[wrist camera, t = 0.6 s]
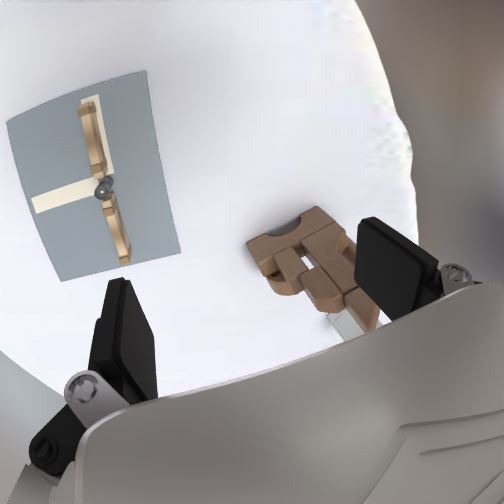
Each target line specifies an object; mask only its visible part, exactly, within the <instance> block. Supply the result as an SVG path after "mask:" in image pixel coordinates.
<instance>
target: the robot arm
mask: <svg viewBox="0 0 504 504" xmlns="http://www.w3.org/2000/svg"><path fill="white" fill-rule="evenodd" d="M438 262H439V261H438V260H437V259H436V258H434V257H433V256H432V255H430V254H429V253H427V252H426V251H425V250H423V249H422V248H420V247H419V246H418V245H416V244H415V243H413V242H412V241H410V240H409V239H408V238H406V237H405V236H403V235H402V234H400V233H399V232H397V231H396V230H394V229H393V228H391V227H390V226H388V225H387V224H385V223H384V222H382V221H381V220H379V219H378V218H376V217H369V218H365V219H362V220H361V222H360V223H359V224H358V231H357V245H356V257H355V268H354V280H355V282H356V284H357V285H358V286H359V287H360V288H361V289H362V290H363V291H364V292H365V293H366V294H367V295H368V296H369V297H370V298H371V299H372V300H373V301H374V302H375V304H376V305H377V306H378V307H379V308H380V309H381V310H382V311H383V312H384V313H385V314H386V315H387V316H388V317H389V319H390V320H391V321H392V322H390V323H388V324H386V325H383V326H381V327H379V328H377V329H374V330H372V331H370V332H367V333H365V334H363V335H360V336H358V337H355V338H353V339H350V340H348V341H345V342H343V343H340V344H338V345H335V346H333V347H330V348H327V349H325V350H322V351H319V352H317V353H314V354H311V355H308V356H305V357H303V358H300V359H297V360H294V361H291V362H288V363H285V364H282V365H279V366H276V367H273V368H270V369H266V370H263V371H260V372H257V373H253V374H250V375H246V376H243V377H239V378H236V379H232V380H228V381H225V382H221V383H217V384H213V385H209V386H206V387H202V388H198V389H194V390H190V391H185V392H181V393H177V394H172V395H168V396H164V397H160V398H158V392H157V379H156V365H155V346H154V336H153V332H152V330H151V328H150V326H149V323H148V321H147V319H146V317H145V315H144V312H143V310H142V308H141V306H140V303H139V301H138V298H137V296H136V294H135V291H134V289H133V286H132V284H131V282H130V280H125V279H124V278H123V277H121V278H117V279H113V280H109V282H108V286H107V290H106V295H105V299H104V304H103V309H102V314H101V318H98V319H97V321H96V324H95V329H94V334H93V340H92V345H91V351H90V358H89V364H88V370H86V371H81V372H78V373H77V374H75V375H74V376H72V377H71V378H70V379H69V381H68V382H67V384H66V386H65V389H64V398H65V400H66V402H67V404H66V405H65V406H64V407H63V408H62V410H60V411H59V412H58V413H57V414H56V415H55V416H54V417H53V418H52V419H51V420H50V422H48V423H47V424H46V425H45V426H44V427H43V428H42V429H41V430H40V431H39V432H38V433H37V434H36V436H35V437H34V438H33V439H32V441H31V443H30V446H29V456H30V460H31V463H30V465H27V464H25V466H24V468H23V470H22V472H21V474H20V477H19V478H18V480H17V482H16V485H15V487H14V489H13V491H12V493H11V495H10V497H9V500H8V503H7V504H504V287H503V286H501V285H498V284H493V283H481V282H475V281H473V278H472V275H471V274H470V272H469V271H468V270H467V269H466V268H465V267H463V266H461V265H459V264H455V263H447V264H444V265H442V267H441V268H440V270H438V269H437V266H438Z"/></svg>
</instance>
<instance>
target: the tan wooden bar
mask: <svg viewBox="0 0 504 504" xmlns="http://www.w3.org/2000/svg"><path fill="white" fill-rule="evenodd" d="M102 205H103V210H102V212H103V216H104V218H105V217H106V218H107V221H108V224H109V227H110V230H111V233H112V236H113V239H114V242H115V245H116V247H117V250H118V253H119V261H120V264H121V265H127V264H131V258H132V247H131V244H130V243H129V240H128V237H127V234H126V231H125V228H124V225H123V221H122V218H121V215H120V211H119V208H118V202H117V199H116V198H115V194H114V192H111V193H108V195H107V197H106V198H105V199H103V201H102Z"/></svg>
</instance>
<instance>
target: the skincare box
mask: <svg viewBox="0 0 504 504" xmlns="http://www.w3.org/2000/svg"><path fill="white" fill-rule="evenodd" d="M327 318H328V319H329V321H330V322H331V323H332V325H333V326H334V328H335V329H336V330H337V332H338V333H339V334H340V336H341V337H342V339H343V340H344V342H345V341H348V340H350V339H353V338H355V337H358V336H360V335H363V334H365V333H364V332H363V331H362V329H361V328H360V327H359V325H358V324H357V323H356V321H355V320H354V319H353V317H352V316H351V315H350V313H349V312H348V311H347V309H346V308H345V309H344V310H343V311H341V312H339V313H337V314H335V313H329V314H328V315H327ZM381 326H383V325H382V323H381V322H380V321H379V320H378V321H377V325H376V329H377V328H379V327H381Z"/></svg>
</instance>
